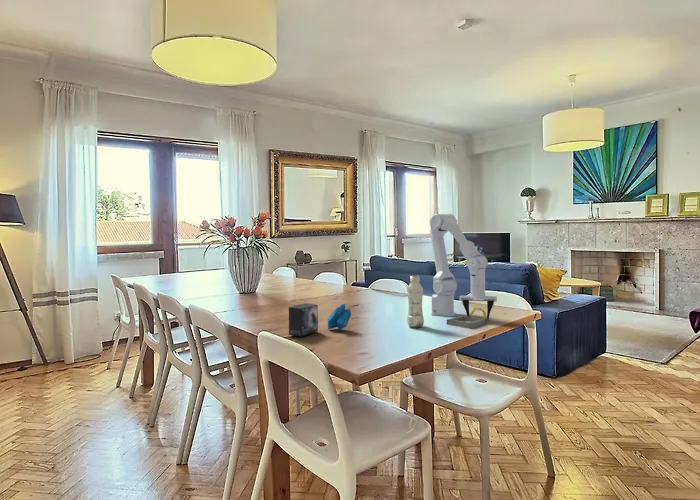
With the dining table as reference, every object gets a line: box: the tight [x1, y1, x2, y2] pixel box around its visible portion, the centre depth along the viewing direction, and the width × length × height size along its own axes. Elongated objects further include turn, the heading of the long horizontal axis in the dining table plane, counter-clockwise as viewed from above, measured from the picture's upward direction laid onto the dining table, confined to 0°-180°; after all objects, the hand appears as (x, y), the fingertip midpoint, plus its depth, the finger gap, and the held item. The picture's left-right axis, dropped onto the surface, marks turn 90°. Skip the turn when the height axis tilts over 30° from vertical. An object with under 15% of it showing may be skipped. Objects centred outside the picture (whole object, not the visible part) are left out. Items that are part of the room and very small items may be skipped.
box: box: [446, 315, 487, 330], centre depth 171 cm, size 11×11×2 cm
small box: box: [288, 303, 319, 337], centre depth 164 cm, size 11×6×10 cm, turn 148°
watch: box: [470, 306, 487, 319], centre depth 177 cm, size 6×3×6 cm, turn 98°
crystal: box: [327, 303, 352, 331], centre depth 168 cm, size 7×9×12 cm
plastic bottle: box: [406, 275, 425, 328], centre depth 170 cm, size 6×7×20 cm
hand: (478, 318), depth 177 cm, fingers open, 7 cm apart
